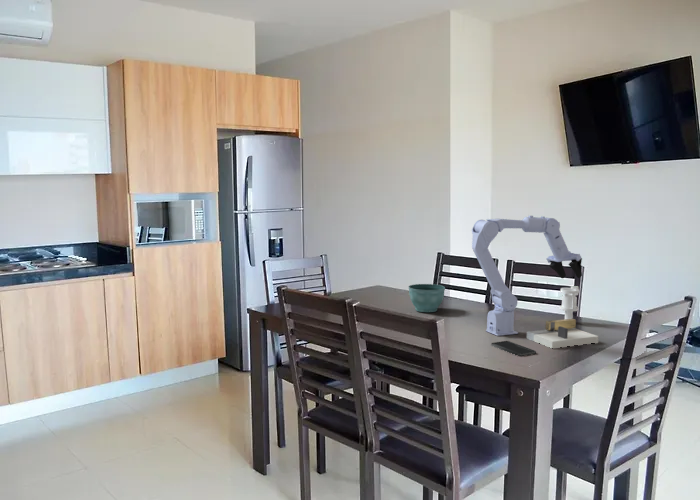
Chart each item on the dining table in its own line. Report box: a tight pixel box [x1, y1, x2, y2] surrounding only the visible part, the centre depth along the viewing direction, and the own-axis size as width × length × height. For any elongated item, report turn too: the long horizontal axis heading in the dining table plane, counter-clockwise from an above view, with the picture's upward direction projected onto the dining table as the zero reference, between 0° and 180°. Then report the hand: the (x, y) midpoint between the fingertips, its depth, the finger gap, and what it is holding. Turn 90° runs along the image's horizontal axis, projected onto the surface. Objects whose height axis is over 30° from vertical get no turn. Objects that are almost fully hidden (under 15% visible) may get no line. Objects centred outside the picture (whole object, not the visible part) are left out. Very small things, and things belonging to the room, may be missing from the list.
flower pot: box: [408, 283, 446, 313], centre depth 255 cm, size 16×16×11 cm
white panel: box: [526, 326, 600, 349], centre depth 207 cm, size 20×14×6 cm
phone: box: [490, 340, 537, 357], centre depth 196 cm, size 8×1×15 cm
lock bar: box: [545, 318, 577, 331], centre depth 212 cm, size 12×3×3 cm, turn 110°
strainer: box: [559, 285, 580, 319], centre depth 233 cm, size 7×7×15 cm
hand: (571, 276), depth 221 cm, fingers open, 7 cm apart
